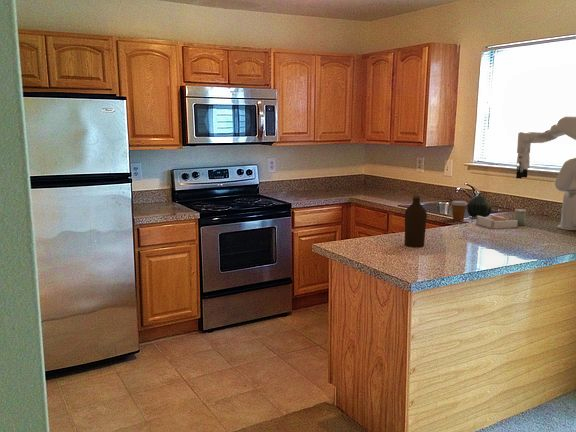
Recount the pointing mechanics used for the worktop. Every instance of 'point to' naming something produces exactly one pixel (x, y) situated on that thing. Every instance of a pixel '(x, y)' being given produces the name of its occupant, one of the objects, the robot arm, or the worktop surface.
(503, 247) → the worktop surface
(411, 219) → the olive oil
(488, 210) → the squash
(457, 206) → the disposable coffee cup
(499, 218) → the pusher plate
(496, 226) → the white open tray
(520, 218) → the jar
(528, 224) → the worktop surface
